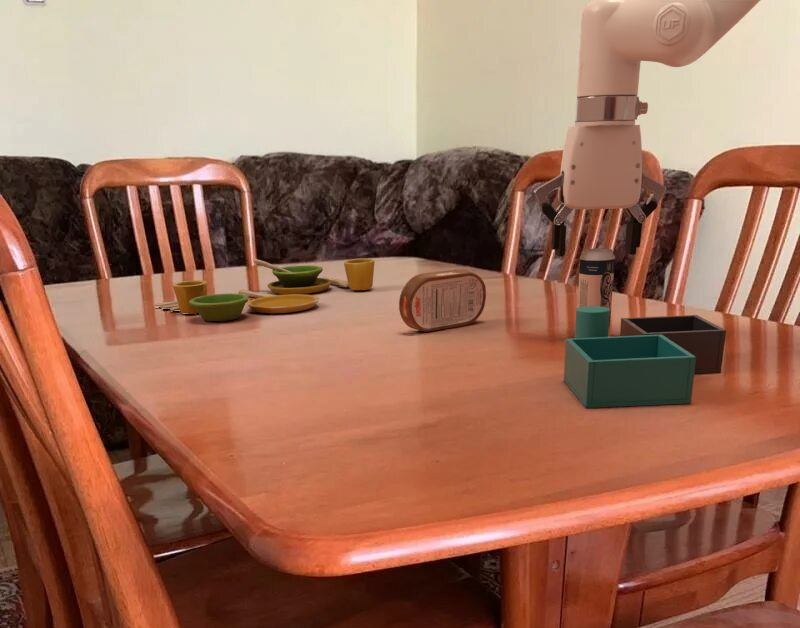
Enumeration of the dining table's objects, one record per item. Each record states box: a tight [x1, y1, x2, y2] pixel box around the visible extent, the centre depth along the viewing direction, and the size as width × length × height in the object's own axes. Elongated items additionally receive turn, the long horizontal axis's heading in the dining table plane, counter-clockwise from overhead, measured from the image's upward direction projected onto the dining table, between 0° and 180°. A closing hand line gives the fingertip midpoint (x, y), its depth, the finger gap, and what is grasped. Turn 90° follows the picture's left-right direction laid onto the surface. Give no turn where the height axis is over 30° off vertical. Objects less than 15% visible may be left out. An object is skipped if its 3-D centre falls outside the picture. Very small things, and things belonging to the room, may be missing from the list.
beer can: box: [576, 247, 616, 337], centre depth 114 cm, size 5×5×12 cm
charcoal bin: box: [619, 314, 727, 375], centre depth 102 cm, size 10×10×5 cm
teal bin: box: [563, 334, 696, 409], centre depth 92 cm, size 11×11×5 cm
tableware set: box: [154, 258, 376, 322], centre depth 154 cm, size 41×28×6 cm
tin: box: [398, 268, 487, 333], centre depth 126 cm, size 15×3×8 cm, turn 123°
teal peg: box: [574, 306, 610, 338], centre depth 102 cm, size 4×4×7 cm
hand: (594, 254), depth 112 cm, fingers open, 9 cm apart
